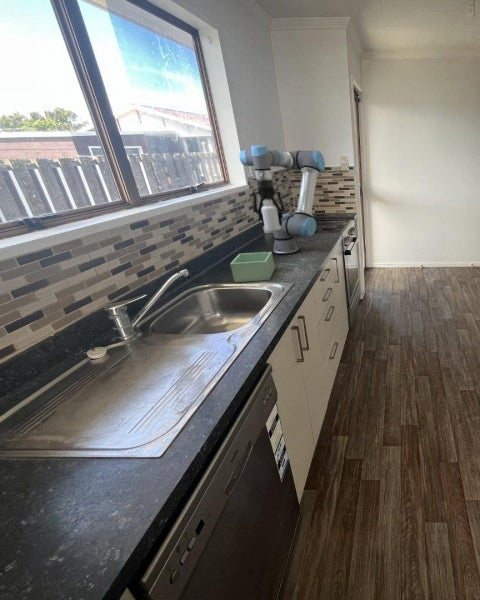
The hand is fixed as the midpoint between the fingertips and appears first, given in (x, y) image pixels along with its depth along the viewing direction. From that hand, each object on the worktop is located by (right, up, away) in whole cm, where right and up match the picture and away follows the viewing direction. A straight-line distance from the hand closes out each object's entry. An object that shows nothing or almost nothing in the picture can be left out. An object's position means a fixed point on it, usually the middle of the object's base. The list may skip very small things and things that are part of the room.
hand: (272, 225), depth 173 cm
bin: (-8, -26, -1) cm, 28 cm away
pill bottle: (0, -2, +1) cm, 2 cm away
